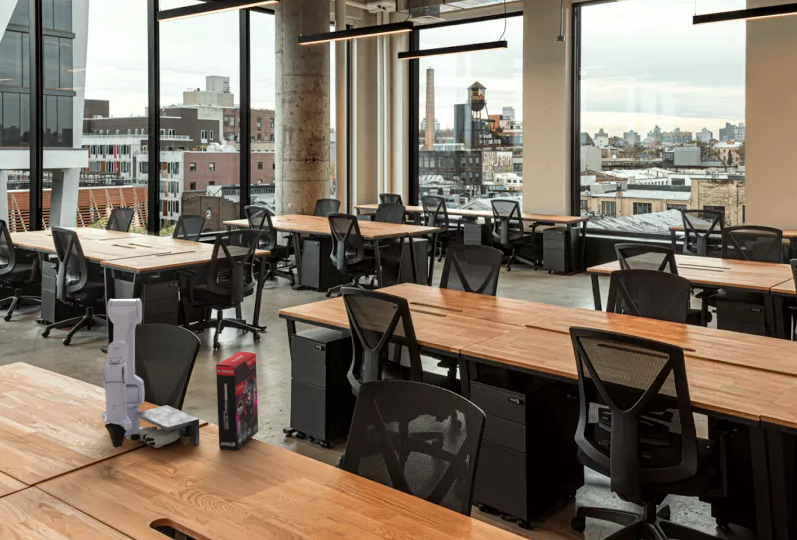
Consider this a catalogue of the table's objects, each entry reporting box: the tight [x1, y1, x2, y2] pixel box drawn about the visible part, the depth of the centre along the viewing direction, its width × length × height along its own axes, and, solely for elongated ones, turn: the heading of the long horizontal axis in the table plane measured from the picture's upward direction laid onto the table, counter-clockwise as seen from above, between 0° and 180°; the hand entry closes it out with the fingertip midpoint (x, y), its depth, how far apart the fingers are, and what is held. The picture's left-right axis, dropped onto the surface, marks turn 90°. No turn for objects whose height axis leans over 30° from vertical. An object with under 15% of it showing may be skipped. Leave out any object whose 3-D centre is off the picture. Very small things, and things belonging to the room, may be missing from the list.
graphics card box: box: [215, 350, 259, 451], centre depth 237 cm, size 17×7×27 cm, turn 168°
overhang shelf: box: [136, 404, 201, 446], centre depth 237 cm, size 19×11×8 cm, turn 48°
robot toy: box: [125, 425, 185, 449], centre depth 236 cm, size 12×4×15 cm
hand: (117, 446), depth 225 cm, fingers closed
